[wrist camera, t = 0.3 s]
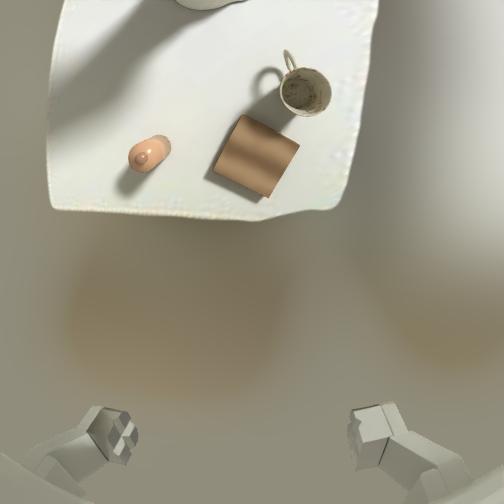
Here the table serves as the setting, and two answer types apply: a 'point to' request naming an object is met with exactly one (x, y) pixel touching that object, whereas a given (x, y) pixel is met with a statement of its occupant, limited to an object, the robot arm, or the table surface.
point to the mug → (304, 89)
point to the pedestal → (255, 156)
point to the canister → (149, 153)
